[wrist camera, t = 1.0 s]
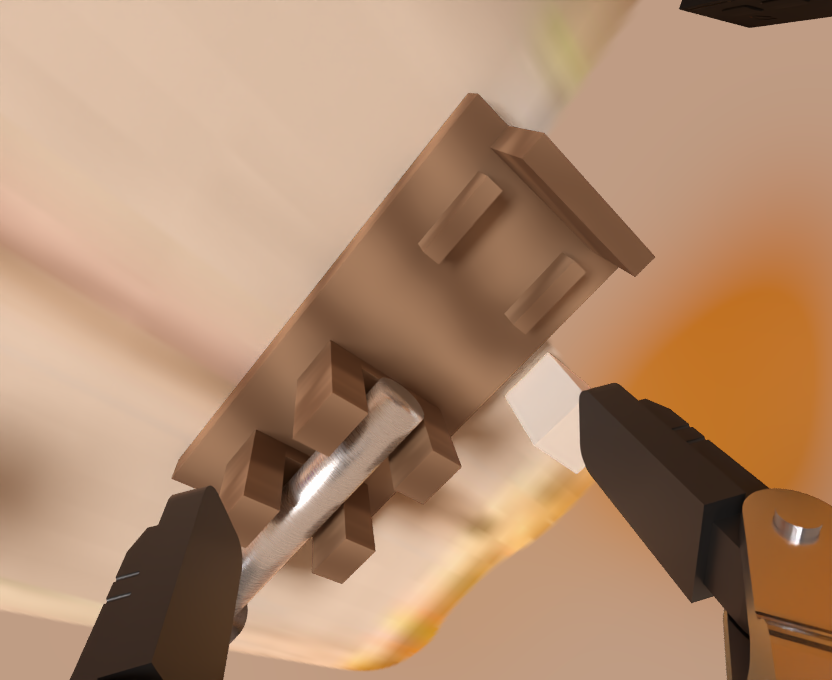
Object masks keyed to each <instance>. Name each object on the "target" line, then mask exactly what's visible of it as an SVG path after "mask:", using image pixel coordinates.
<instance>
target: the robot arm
mask: <svg viewBox="0 0 832 680" xmlns="http://www.w3.org/2000/svg"><path fill="white" fill-rule="evenodd" d="M579 429H580V451H581V455H582V459H583V461H584V464H585V466H586V468H587V470H588V472H589V473H590V475H591V476H592V477H593V479H594V480H595V481H596V482H597V483H598V485H599V486H600V487H601V489H602V490H603V491H604V493H605V494H606V495H607V496H608V498H609V499H610V500H611V501H612V503H613V504H614V505H615V507H616V508H617V509H618V510H619V512H620V513H621V514H622V515H623V517H624V518H625V519H626V520H627V522H628V523H629V524H630V525H631V527H632V528H633V529H634V531H635V532H636V533H637V534H638V536H639V537H640V538H641V539H642V541H643V542H644V543H645V545H646V546H647V547H648V549H649V550H650V551H651V552H652V554H653V555H654V556H655V557H656V559H657V560H658V561H659V562H660V564H661V565H662V566H663V567H664V569H665V570H666V571H667V573H668V574H669V575H670V577H671V578H672V579H673V580H674V582H675V583H676V584H677V585H678V587H679V588H680V589H681V590H682V592H683V593H684V594H685V596H686V597H687V598H688V599H689V600H690V602H691V603H693V602H697V601H700V600H703V599H706V598H709V597H713V596H714V597H715V598H716V599H717V600H718V602H720V604H721V605H722V606H723V607H724V613H723V629H724V644H725V658H726V673H727V680H832V506H831V505H829V504H827V503H826V502H824V501H822V500H820V499H818V498H815V497H813V496H810V495H808V494H804V493H801V492H797V491H793V490H787V489H769V488H768V487H767V486H766V485H764V484H763V483H762V482H761V481H760V480H758V479H757V478H756V477H754V476H753V475H752V474H751V473H749V472H748V471H747V470H746V469H744V468H743V467H742V466H741V465H740V464H738V463H737V462H736V461H734V460H733V459H732V458H731V457H730V456H728V455H727V454H726V453H725V452H723V451H722V450H721V449H719V448H718V447H717V446H716V445H714V444H713V443H712V442H710V441H709V440H705V438H704V436H703V435H702V434H701V433H699V432H698V431H697V430H696V429H694V428H693V427H689V424H688V423H687V422H686V421H684V420H683V419H682V418H681V417H679V416H678V415H677V414H676V413H674V412H673V411H672V410H671V409H669V408H666V407H664V406H662V405H659V404H657V403H654V402H652V401H650V400H647V399H643V400H639V401H638V400H637V399H636V398H635V397H633V396H632V395H631V394H630V393H629V392H628V391H626V390H625V389H624V388H623V387H622V386H620V385H619V384H617V383H611V384H608V385H604V386H600V387H596V388H592V389H588V390H584V391H582V392H581V393H580V396H579ZM241 572H242V550H241V545H240V541H239V538H238V535H237V533H236V531H235V529H234V527H233V525H232V522H231V520H230V518H229V516H228V514H227V512H226V509H225V507H224V505H223V503H222V501H221V499H220V497H219V494H218V492H217V491H216V489H215V488H214V487H213V486H210V485H209V486H206V487H202V488H198V489H194V490H190V491H186V492H182V493H178V494H174V495H172V496H171V497H170V498H169V500H168V502H167V504H166V507H165V509H164V512H163V514H162V517H161V519H160V522H159V524H158V525H157V526H153V527H149V528H147V529H146V530H145V531H144V533H143V534H142V535H141V536H140V537H139V539H138V540H137V541H136V542H135V543H134V544H133V546H132V547H131V548H130V549H129V550H128V552H127V553H126V556H125V558H124V560H123V562H122V565H121V567H120V569H119V571H118V573H117V576H116V582H113V585H112V587H111V589H110V591H109V594H108V596H107V598H106V599H107V603H106V604H104V605H103V607H102V609H101V611H100V614H99V616H98V618H97V620H96V623H95V625H94V627H93V629H92V632H91V634H90V636H89V638H88V640H87V643H86V645H85V647H84V649H83V652H82V654H81V656H80V658H79V661H78V663H77V665H76V667H75V670H74V672H73V674H72V676H71V678H70V680H223V677H224V672H225V666H226V660H227V654H228V648H229V642H230V636H231V631H232V625H233V619H234V613H235V607H236V601H237V595H238V590H239V584H240V578H241Z"/></svg>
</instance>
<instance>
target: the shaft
mask: <svg viewBox="0 0 832 680" xmlns="http://www.w3.org/2000/svg"><path fill="white" fill-rule="evenodd" d="M366 399H367V406H368V415H367V416H366V417H365V418H364V419H363V420H362V421H361V422H360V423H359V424H358V426H357V427H356V428H355V429H354V430H353V431H352V432H351V433H350V434H349V435H348V437H347V438H346V439H345V440H344V441H343V442H342V443H341V444H340V445H339V447H338V448H337V449H336V450H335V451H334V452H333V453H332V454H331V455H330V456H329V457H328V456H326V455H324V454H322V453H320V452H318V451H315V452H314V453H313V455H312V456H311V457H310V458H309V459H308V460H307V461H306V462H305V463H304V465H303V466H302V467H301V468H300V469H299V470H298V471H297V472H296V474H295V475H294V476H293V477H292V478H291V479H290V480H289V481H288V483H287V484H286V485H285V486H284V487H283V488H282V495H281V506H280V511H279V513H278V514H277V515H276V516H275V517H274V518H273V519H272V520H271V521H270V522H269V524H268V525H267V526H266V527H265V528H264V529H263V530H262V531H261V532H260V533H259V535H258V536H257V537H256V538H255V539H254V540H253V541H252V542H251V543H250V545H249V546H248V547H247V548H244V547H241V550H242V572H241V578H240V584H239V590H238V595H237V601H236V607H235V613H234V619H233V625H232V631H231V636H230V642H229V644H230V643H231V642H232V641H233V640H234V639H235V638H236V637H237V636H238V635H239V634H240V632H241V631H242V629H243V627H244V625H245V622H246V619H247V612H248V608H247V603H248V602H249V601H250V600H251V599H252V598H253V597H254V596H255V595H256V594H257V593H258V592H259V591H260V590H261V589H262V588H263V587H264V586H265V584H266V583H267V582H268V581H269V580H270V579H271V578H272V577H273V576H274V575H275V574H276V573H277V572H278V571H279V570H280V569H281V568H282V567H283V566H284V565H285V564H286V562H287V561H288V560H289V559H290V558H291V557H292V556H293V555H294V554H295V553H296V552H297V551H298V550H299V549H300V548H301V547H302V546H303V545H304V544H305V543H306V542H307V540H308V539H309V538H310V537H311V536H312V535H313V534H314V533H315V532H316V531H317V530H318V529H319V528H320V527H321V526H322V525H323V524H324V523H325V522H326V521H327V520H328V518H329V517H330V516H331V515H332V514H333V513H334V512H335V511H336V510H337V509H338V508H339V507H340V506H341V505H342V504H343V503H344V502H345V501H346V500H347V499H348V498H349V496H350V495H351V494H352V493H353V492H354V491H355V490H356V489H357V488H358V487H359V486H360V485H361V484H362V483H363V482H364V481H365V480H366V479H367V478H368V477H369V476H370V475H371V473H372V472H373V471H374V470H375V469H376V468H377V467H378V466H379V465H380V464H381V463H382V462H383V461H384V460H385V459H386V458H387V457H388V456H389V455H390V454H391V453H392V451H393V450H394V449H395V448H396V447H397V446H398V445H399V444H400V443H401V442H402V441H403V440H404V439H405V438H406V437H407V436H408V435H409V434H410V433H411V432H412V431H413V429H414V428H415V427H416V426H417V425H418V424H419V423H420V422H421V421H422V420H423V419H424V412H423V410H422V408H421V406H420V404H419V403H418V401H417V400H416V399H415V398H414V396H413V395H412V394H411V393H410V392H409V391H408V390H406V389H405V388H404V387H403V386H401V385H400V384H398V383H397V382H395V381H393V380H391V379H389V378H381V379H380V380H379V381H378V382H377V383H376V384H375V385H374V386H373V387H372V388H371V390H370V391H369V392H368V393H367V394H366Z"/></svg>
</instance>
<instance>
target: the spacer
mask: <svg viewBox="0 0 832 680" xmlns="http://www.w3.org/2000/svg"><path fill="white" fill-rule="evenodd" d="M588 389H591V388H590V387H589V386H588V384H587V383H586V382H584V381H583V380H582V379H581V378H580V377H578V376H577V375H576V374H575V373H574V372H572V371H571V370H570V369H569V368H567V367H566V366H565V365H564V364H562V363H561V362H560V361H559V360H557V359H556V358H555V357H554V356H552V355H551V354H550V353H549V352H548V353H547V354H546V355H545V356H544V357H543V358H542V359H541V360H540V361H539V362H538V363H537V364H536V365H535V366H534V367H533V368H532V369H531V370H530V371H529V372H528V373H527V374H526V375H525V376H524V377H523V378H522V379H521V380H520V381H519V382H518V383H517V384H516V385H515V386H514V387H513V388H512V389H511V390H510V391H509V392H508V393H507V394H506V395H505V398H506V400H507V402H508V403H509V405H510V407H511V408H512V410H513V412H514V413H515V415H516V417H517V418H518V420H519V422H520V423H521V425H522V427H523V428H524V430H525V432H526V433H527V435H528V437H529V438H530V440H531V442H532V443H533V445H534V446H535V447H537V448H538V449H540V450H541V451H543V452H544V453H546V454H547V455H549V456H550V457H552V458H553V459H555V460H556V461H558V462H559V463H561V464H562V465H564V466H565V467H567V468H568V469H570V470H571V471H573V472H574V473H576V474H578V473H579V472H580V471H581V470H582V469H583V468H584V467H586V466H585V464H584V461H583V459H582V455H581V451H580V429H579V396H580V393H581V392H582V391H584V390H588Z"/></svg>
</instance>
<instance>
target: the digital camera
mask: <svg viewBox="0 0 832 680" xmlns="http://www.w3.org/2000/svg"><path fill="white" fill-rule="evenodd" d="M679 9H680V10H684V11H688V12H692V13H696V14H699V15H703V16H707V17H710V18H714V19H718V20H722V21H726V22H729V23H733V24H737V25H741V26H744V27H748V28H752V27H759V26H767V25H774V24H781V23H788V22H796V21H803V20H810V19H818V18H825V17H831V16H832V0H682V2H681V5H680V8H679Z"/></svg>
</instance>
